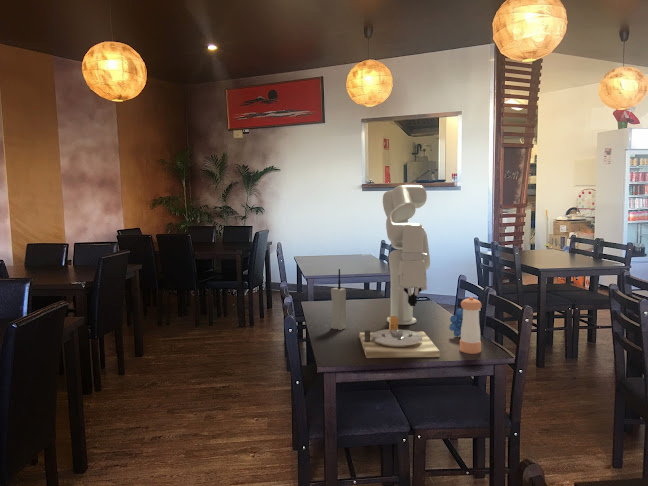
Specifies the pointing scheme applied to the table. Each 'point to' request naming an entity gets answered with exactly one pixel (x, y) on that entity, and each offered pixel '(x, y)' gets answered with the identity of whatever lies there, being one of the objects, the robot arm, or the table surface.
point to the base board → (398, 348)
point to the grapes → (457, 322)
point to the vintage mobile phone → (339, 307)
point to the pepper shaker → (470, 326)
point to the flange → (396, 335)
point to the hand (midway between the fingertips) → (412, 305)
